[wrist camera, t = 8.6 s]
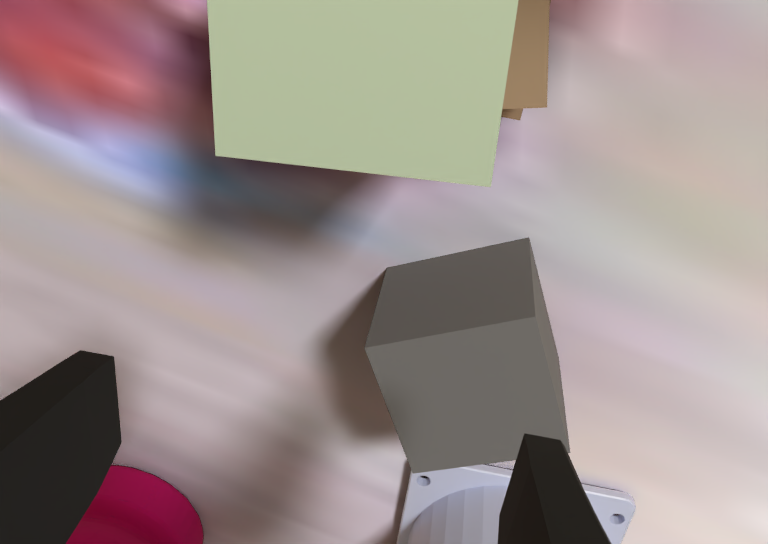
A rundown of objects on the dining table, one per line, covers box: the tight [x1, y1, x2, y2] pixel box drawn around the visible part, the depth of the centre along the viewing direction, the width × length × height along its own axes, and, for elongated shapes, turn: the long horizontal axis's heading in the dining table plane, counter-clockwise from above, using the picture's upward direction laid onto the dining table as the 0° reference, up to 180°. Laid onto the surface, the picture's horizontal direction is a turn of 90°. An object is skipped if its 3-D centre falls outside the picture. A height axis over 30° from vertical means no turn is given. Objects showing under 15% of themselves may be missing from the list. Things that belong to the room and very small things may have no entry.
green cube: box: [207, 0, 519, 187], centre depth 12 cm, size 4×4×4 cm
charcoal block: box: [365, 238, 570, 474], centre depth 21 cm, size 4×4×4 cm
